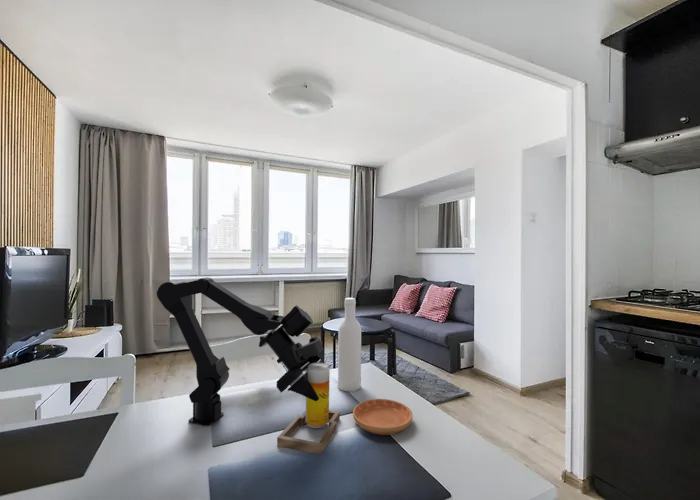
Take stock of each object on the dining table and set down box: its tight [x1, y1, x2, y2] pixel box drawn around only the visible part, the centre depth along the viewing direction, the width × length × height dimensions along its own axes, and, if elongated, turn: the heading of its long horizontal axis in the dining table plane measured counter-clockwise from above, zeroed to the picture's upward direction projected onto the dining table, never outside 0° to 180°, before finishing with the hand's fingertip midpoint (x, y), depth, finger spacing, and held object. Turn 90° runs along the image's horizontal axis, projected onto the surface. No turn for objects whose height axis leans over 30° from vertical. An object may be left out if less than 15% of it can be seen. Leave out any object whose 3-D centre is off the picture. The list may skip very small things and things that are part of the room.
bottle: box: [337, 297, 362, 392], centre depth 111 cm, size 8×8×30 cm
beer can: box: [305, 362, 330, 429], centre depth 86 cm, size 6×6×15 cm
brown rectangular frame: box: [276, 409, 341, 455], centre depth 83 cm, size 11×16×2 cm
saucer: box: [352, 398, 414, 436], centre depth 88 cm, size 16×16×3 cm
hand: (322, 394), depth 86 cm, fingers closed on beer can, 6 cm apart
